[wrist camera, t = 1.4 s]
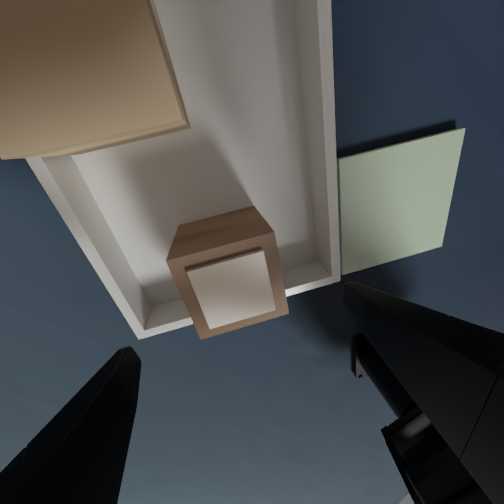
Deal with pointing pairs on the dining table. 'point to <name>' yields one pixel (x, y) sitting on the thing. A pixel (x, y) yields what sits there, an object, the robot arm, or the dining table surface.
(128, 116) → the plain block
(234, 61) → the bin
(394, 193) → the mat
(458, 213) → the dining table surface
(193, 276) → the labelled block
